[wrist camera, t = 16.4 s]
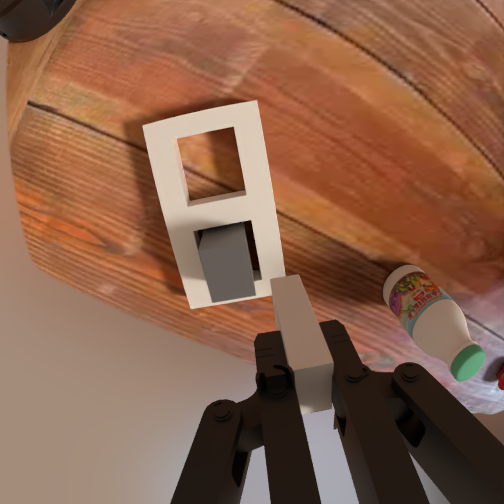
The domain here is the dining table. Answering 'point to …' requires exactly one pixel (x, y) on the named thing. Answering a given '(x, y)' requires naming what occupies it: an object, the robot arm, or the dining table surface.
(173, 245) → the socket plate
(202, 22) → the dining table surface
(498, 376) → the dragon fruit
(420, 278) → the milk bottle
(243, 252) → the plug
